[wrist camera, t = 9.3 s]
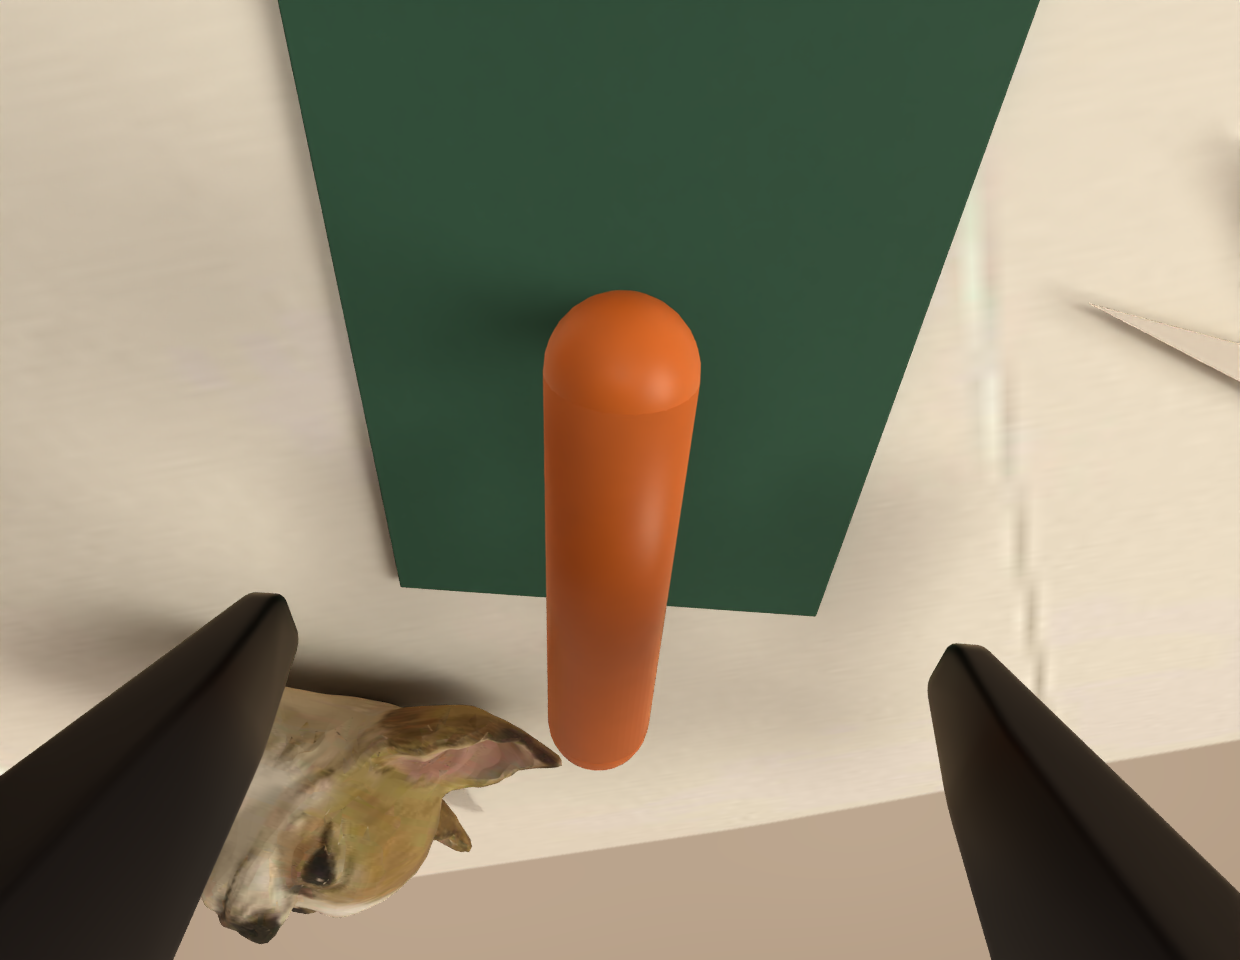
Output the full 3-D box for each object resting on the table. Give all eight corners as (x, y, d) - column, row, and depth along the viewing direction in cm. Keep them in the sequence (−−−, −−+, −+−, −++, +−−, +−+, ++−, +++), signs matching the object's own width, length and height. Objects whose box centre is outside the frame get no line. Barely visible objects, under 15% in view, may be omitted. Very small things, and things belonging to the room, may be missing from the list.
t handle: (585, 467, 19) (542, 786, 12) (596, 123, 14) (530, 328, 6) (648, 471, 19) (644, 793, 12) (684, 130, 14) (717, 342, 7)
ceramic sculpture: (-5, 836, 16) (560, 933, 21) (174, 563, 23) (573, 686, 28) (0, 955, 22) (440, 1009, 27) (141, 712, 29) (474, 791, 34)
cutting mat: (403, 578, 23) (400, 587, 23) (224, -304, 11) (211, -311, 10) (814, 607, 23) (816, 617, 23) (1114, -236, 11) (1129, -241, 10)
